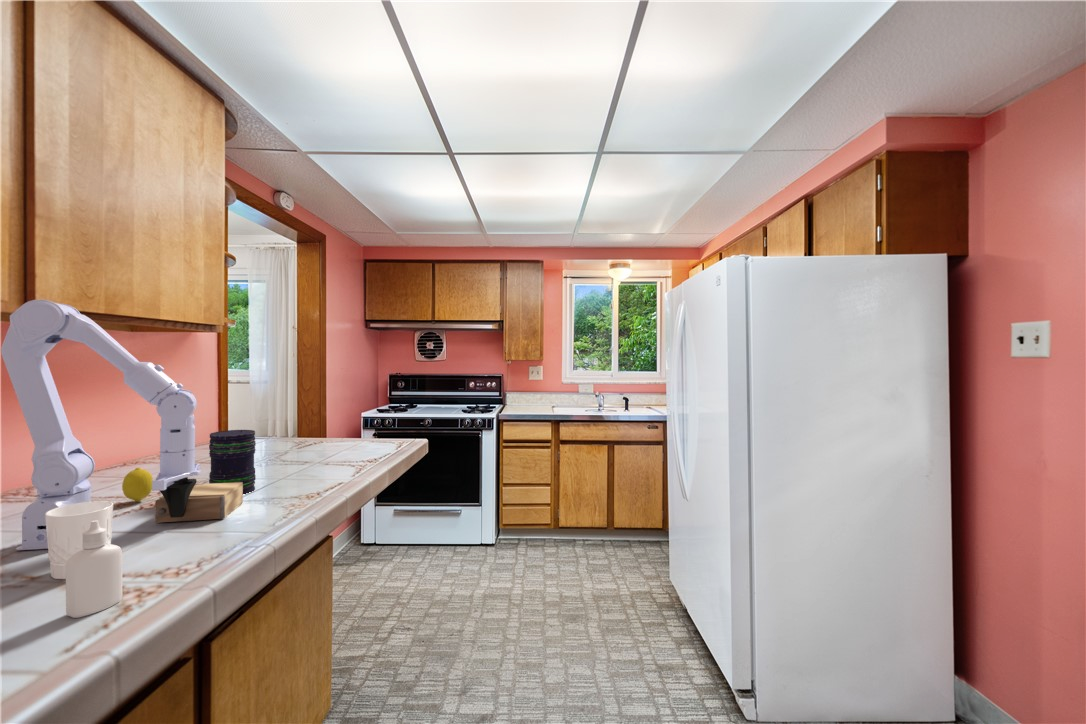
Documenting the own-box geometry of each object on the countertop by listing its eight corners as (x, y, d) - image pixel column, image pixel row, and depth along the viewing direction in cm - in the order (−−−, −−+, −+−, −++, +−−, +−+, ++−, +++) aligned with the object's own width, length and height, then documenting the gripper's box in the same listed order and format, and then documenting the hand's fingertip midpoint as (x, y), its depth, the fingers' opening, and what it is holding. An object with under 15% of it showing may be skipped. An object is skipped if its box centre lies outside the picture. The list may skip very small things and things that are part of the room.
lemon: (159, 498, 116) (159, 465, 116) (137, 506, 110) (137, 470, 110) (138, 498, 116) (138, 464, 116) (115, 505, 111) (115, 470, 111)
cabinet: (224, 517, 103) (224, 494, 103) (159, 521, 100) (159, 497, 100) (242, 503, 113) (242, 482, 113) (183, 506, 110) (183, 484, 110)
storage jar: (234, 498, 116) (234, 436, 116) (198, 496, 118) (198, 435, 118) (264, 487, 126) (264, 430, 126) (231, 485, 128) (231, 429, 128)
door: (222, 520, 101) (222, 498, 101) (153, 524, 98) (153, 501, 98) (225, 517, 103) (225, 495, 103) (158, 521, 100) (158, 499, 100)
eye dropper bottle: (68, 608, 66) (68, 520, 66) (123, 595, 70) (122, 512, 70) (63, 622, 63) (63, 530, 63) (121, 608, 66) (120, 521, 66)
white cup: (122, 557, 83) (122, 498, 83) (99, 577, 76) (99, 513, 75) (62, 563, 80) (62, 503, 80) (33, 585, 73) (32, 518, 73)
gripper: (182, 456, 92) (181, 527, 93) (215, 443, 107) (215, 504, 107) (139, 457, 91) (139, 530, 91) (178, 443, 105) (178, 506, 105)
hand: (177, 516), depth 99 cm, fingers closed
